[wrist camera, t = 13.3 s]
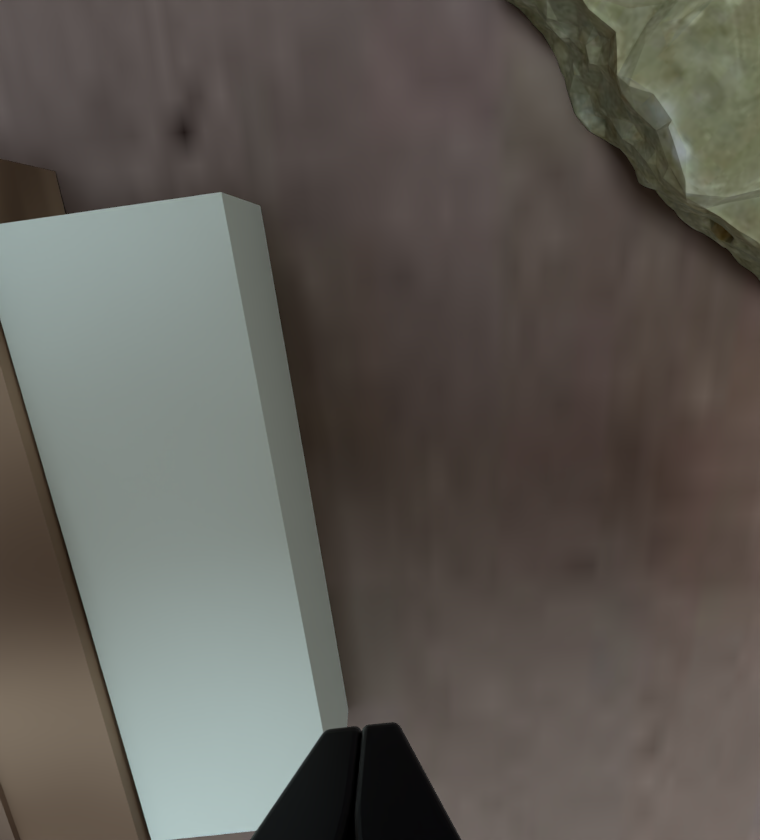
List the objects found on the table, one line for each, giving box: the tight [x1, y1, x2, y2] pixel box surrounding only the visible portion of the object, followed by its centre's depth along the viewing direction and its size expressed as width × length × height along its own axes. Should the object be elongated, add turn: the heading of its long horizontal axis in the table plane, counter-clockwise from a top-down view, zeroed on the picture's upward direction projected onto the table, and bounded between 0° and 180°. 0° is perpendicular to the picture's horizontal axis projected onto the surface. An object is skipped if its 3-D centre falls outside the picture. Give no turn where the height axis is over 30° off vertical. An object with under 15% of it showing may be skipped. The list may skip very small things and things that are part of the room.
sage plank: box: [0, 192, 348, 840], centre depth 15 cm, size 14×4×4 cm, turn 8°
